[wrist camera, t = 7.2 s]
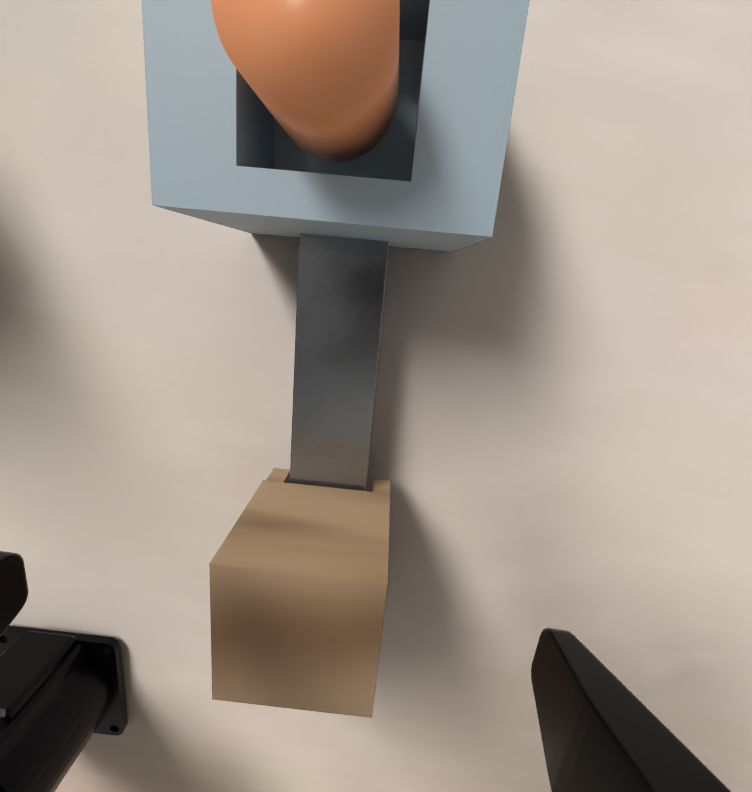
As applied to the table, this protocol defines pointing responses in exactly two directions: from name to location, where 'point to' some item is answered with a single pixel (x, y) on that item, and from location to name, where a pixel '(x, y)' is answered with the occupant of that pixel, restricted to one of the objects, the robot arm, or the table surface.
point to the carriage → (302, 598)
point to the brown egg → (318, 67)
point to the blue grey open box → (348, 180)
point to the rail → (336, 358)
